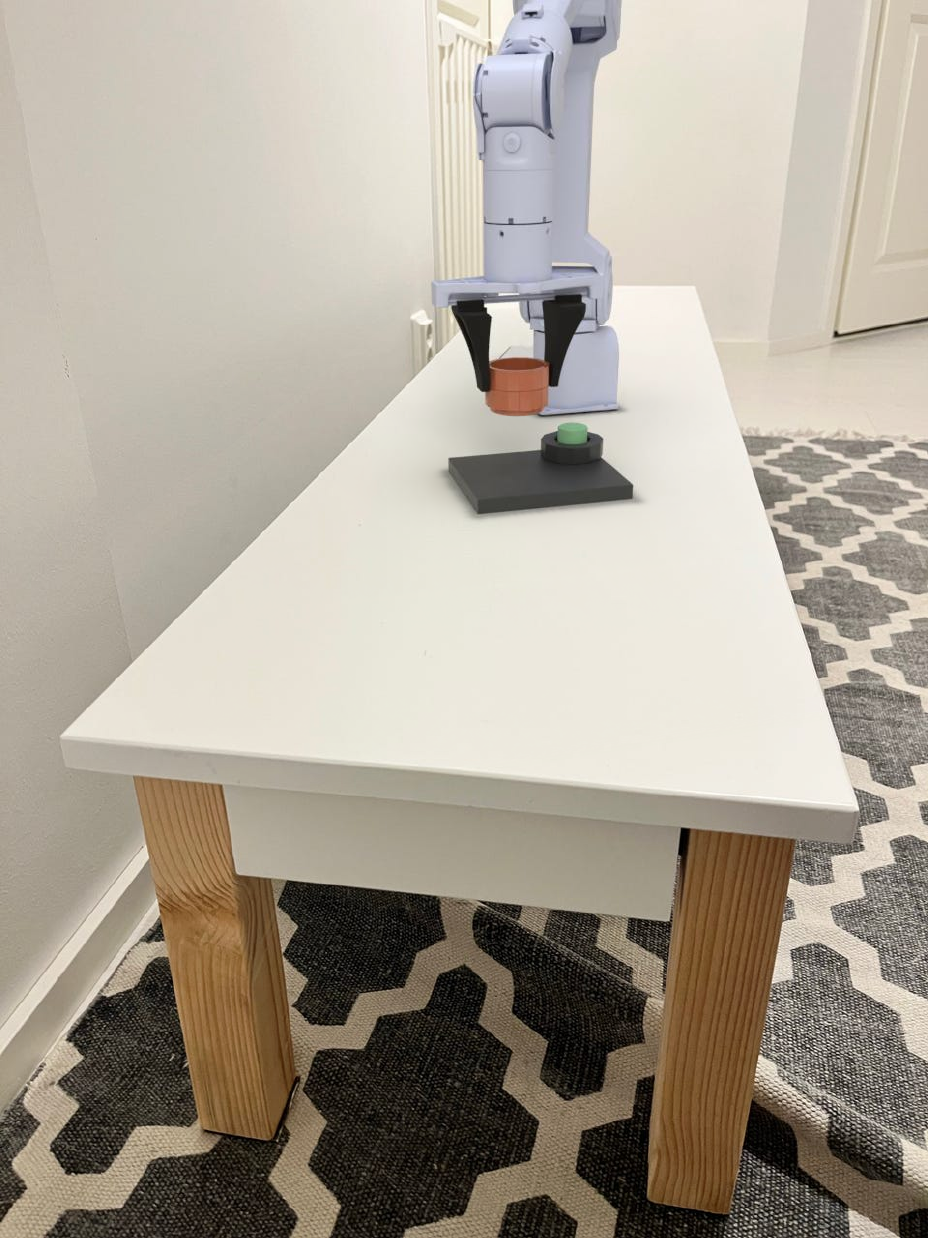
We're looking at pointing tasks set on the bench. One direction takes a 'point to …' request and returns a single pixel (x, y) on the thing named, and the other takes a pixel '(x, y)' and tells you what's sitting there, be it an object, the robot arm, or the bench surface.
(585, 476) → the scale
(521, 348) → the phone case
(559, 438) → the button
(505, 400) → the bowl
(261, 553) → the bench surface
